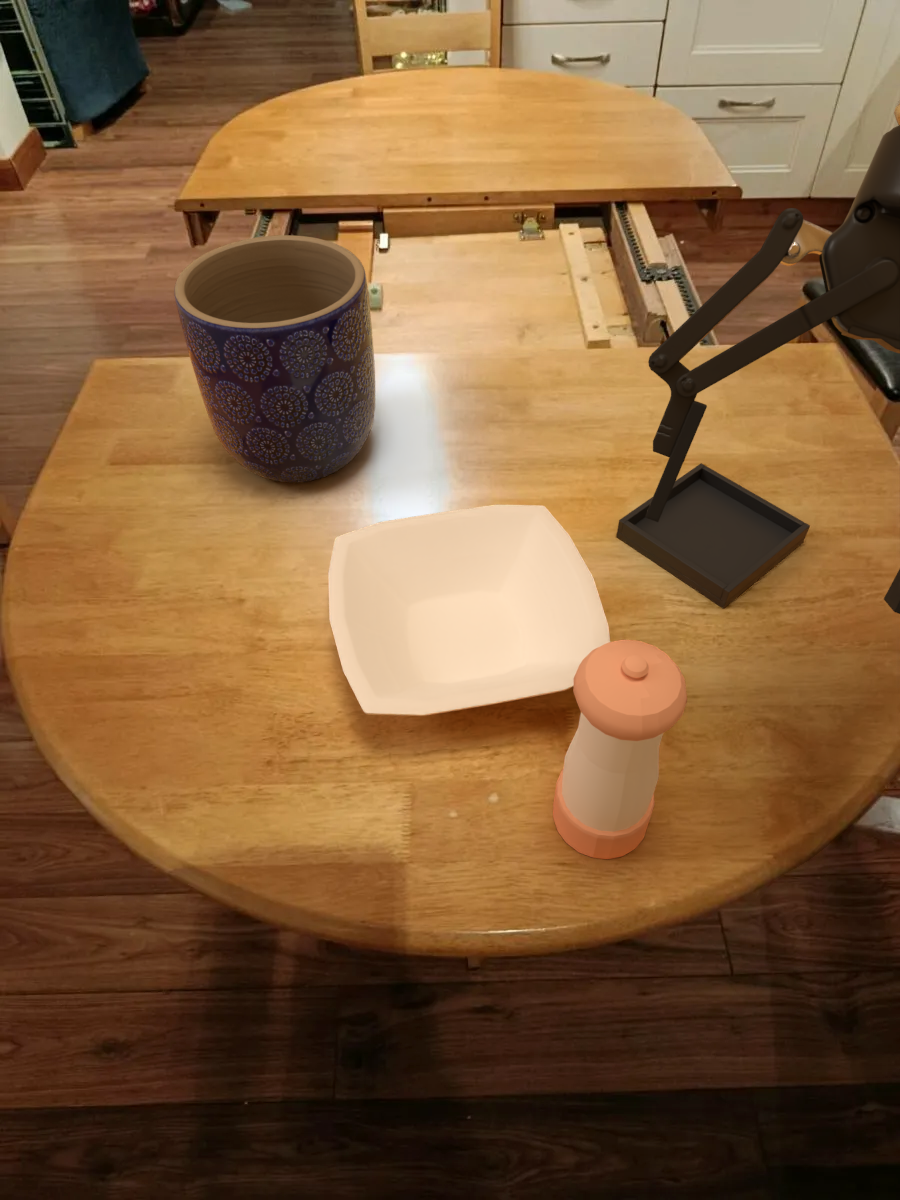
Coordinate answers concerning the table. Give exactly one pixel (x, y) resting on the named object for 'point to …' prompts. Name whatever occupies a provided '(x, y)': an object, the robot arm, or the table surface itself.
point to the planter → (282, 352)
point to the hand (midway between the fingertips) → (770, 561)
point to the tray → (714, 534)
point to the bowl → (461, 609)
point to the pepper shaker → (616, 746)
